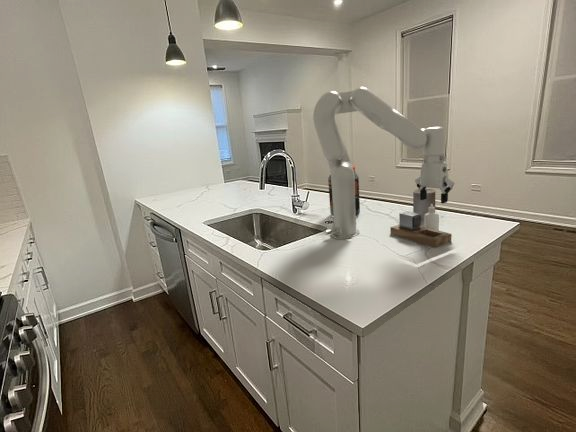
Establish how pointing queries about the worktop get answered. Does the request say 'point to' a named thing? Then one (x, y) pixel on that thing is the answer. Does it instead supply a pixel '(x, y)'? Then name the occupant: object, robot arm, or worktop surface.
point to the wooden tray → (423, 236)
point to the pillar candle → (423, 202)
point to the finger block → (409, 221)
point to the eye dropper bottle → (431, 219)
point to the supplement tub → (357, 201)
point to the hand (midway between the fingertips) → (433, 201)
